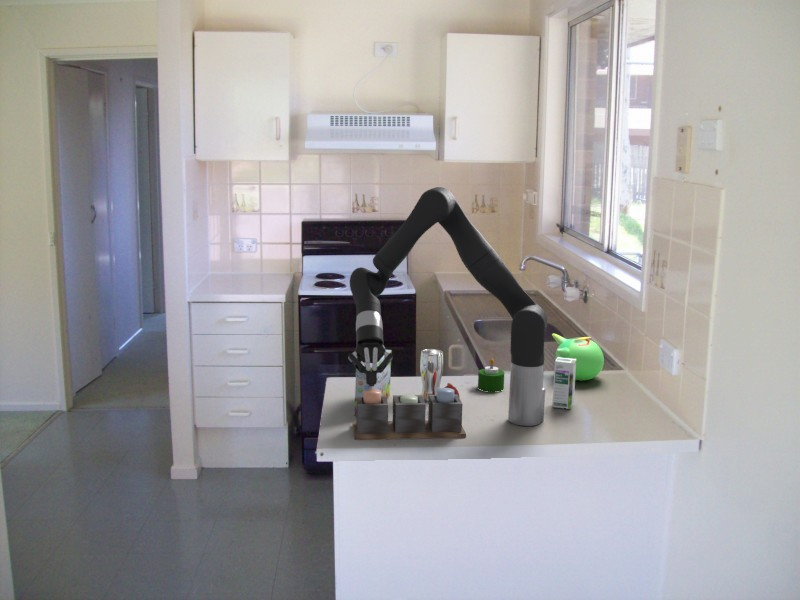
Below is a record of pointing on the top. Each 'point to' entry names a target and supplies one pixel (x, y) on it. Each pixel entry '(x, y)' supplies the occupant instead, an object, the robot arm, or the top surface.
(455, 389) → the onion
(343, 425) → the top surface
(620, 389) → the top surface
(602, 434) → the top surface
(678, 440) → the top surface
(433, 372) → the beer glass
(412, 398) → the sage button
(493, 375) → the candle
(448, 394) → the pale blue rounded piece
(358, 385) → the snack box
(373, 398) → the terracotta button
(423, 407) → the button board
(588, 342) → the toy bird
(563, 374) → the syrup box
